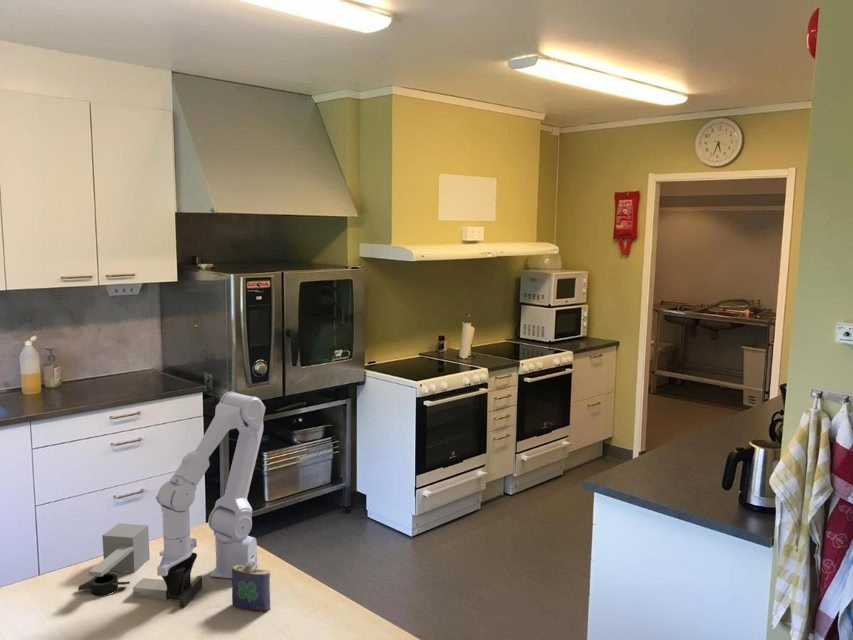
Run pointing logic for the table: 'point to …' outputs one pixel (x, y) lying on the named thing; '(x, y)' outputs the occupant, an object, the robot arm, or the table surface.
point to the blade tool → (160, 591)
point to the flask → (250, 588)
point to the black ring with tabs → (102, 584)
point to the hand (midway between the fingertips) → (179, 590)
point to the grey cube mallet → (123, 549)
